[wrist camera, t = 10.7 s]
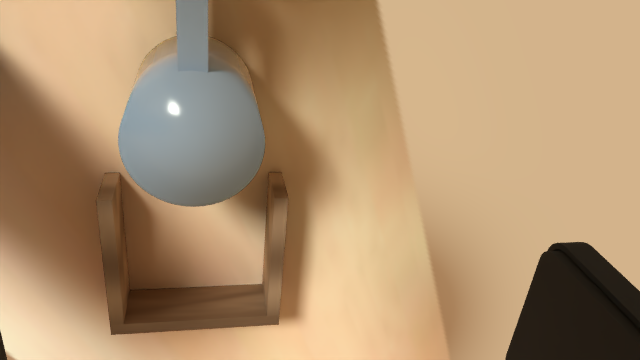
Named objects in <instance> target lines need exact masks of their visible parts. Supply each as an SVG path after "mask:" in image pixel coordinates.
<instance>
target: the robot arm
mask: <svg viewBox="0 0 640 360" xmlns="http://www.w3.org/2000/svg"><path fill="white" fill-rule="evenodd" d="M0 360H7V357H6V353H5V349H4V344H3V340H2V336H1V332H0ZM506 360H640V291H639V290H638V289H637V288H635V287H634V286H633V285H632V284H631V283H630V282H629V281H628V280H627V279H626V278H625V277H624V276H623V275H622V274H621V273H620V272H618V271H617V270H616V269H615V268H614V267H613V266H612V265H611V264H610V263H609V262H607V260H606V259H605V258H604V257H603V256H601V255H600V254H599V253H598V252H597V251H596V250H595V249H594V248H593V247H592V246H590V245H589V244H587V243H584V242H573V243H572V242H571V243H555V244H552V245H551V246H550V247H549V249H548V251H547V252H544V253H543V254H542V255H541V257H540V260H539V262H538V265H537V268H536V271H535V274H534V277H533V280H532V283H531V285H530V289H529V291H528V294H527V297H526V300H525V303H524V306H523V309H522V311H521V314H520V317H519V320H518V323H517V326H516V328H515V331H514V334H513V337H512V340H511V343H510V346H509V349H508V351H507V354H506Z"/></svg>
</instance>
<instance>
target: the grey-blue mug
mask: <svg viewBox="0 0 640 360" xmlns="http://www.w3.org/2000/svg"><path fill="white" fill-rule="evenodd" d="M176 23H177V36H176V37H173V38H170V39H168V40H165V41H163V42H162V43H160V44H158V45H157V46H156V47H155V48H153V49H152V50H151V51H150V52H149V53H148V54H147V56H146V57H145V59H144V60H143V61H142V63H141V66H140V68H139V70H138V73H137V76H136V79H135V82H134V85H133V88H132V91H131V94H130V97H129V100H128V103H127V106H126V109H125V112H124V115H123V118H122V121H121V124H120V128H119V135H118V145H119V151H120V156H121V159H122V162H123V164H124V166H125V168H126V170H127V172H128V173H129V175H130V176H131V177H132V179H133V180H134V181H135V182H136V183H137V184H138V185H139V186H140V187H141V188H142V189H143V190H145V191H146V192H148V193H149V194H151V195H152V196H154V197H156V198H158V199H160V200H163V201H165V202H168V203H171V204H175V205H181V206H193V207H196V206H206V205H212V204H215V203H219V202H222V201H224V200H226V199H229V198H230V197H232V196H234V195H236V194H237V193H238V192H240V191H241V190H242V189H244V188H245V187H246V186H247V185H248V184H249V183H250V182H251V180H252V179H253V178H254V176H255V175H256V173H257V171H258V170H259V168H260V165H261V163H262V160H263V156H264V150H265V135H264V129H263V125H262V121H261V117H260V113H259V109H258V105H257V101H256V97H255V93H254V89H253V84H252V80H251V77H250V74H249V71H248V69H247V67H246V65H245V63H244V62H243V60H242V59H241V58H240V57H239V55H238V54H237V53H236V52H235V51H234V50H233V49H231V48H230V47H229V46H227V45H226V44H224V43H222V42H221V41H219V40H216V39H214V38H211V37H208V0H176Z"/></svg>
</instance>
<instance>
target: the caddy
mask: <svg viewBox="0 0 640 360" xmlns="http://www.w3.org/2000/svg"><path fill="white" fill-rule="evenodd" d="M96 205H97V214H98V223H99V232H100V241H101V249H102V258H103V267H104V276H105V285H106V293H107V302H108V311H109V320H110V328H111V335H116V334H132V333H148V332H165V331H181V330H197V329H213V328H230V327H246V326H262V325H279V313H280V300H281V287H282V274H283V261H284V249H285V236H286V223H287V210H288V195H287V191H286V188H285V184H284V180H283V176H282V173H269V176H268V194H267V212H266V229H265V247H264V265H263V282H262V284H257V285H235V286H213V287H191V288H169V289H147V290H130V285H129V274H128V263H127V251H126V240H125V228H124V217H123V206H122V194H121V183H120V173H105V175H104V178H103V181H102V184H101V187H100V190H99V193H98V196H97V199H96Z"/></svg>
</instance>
